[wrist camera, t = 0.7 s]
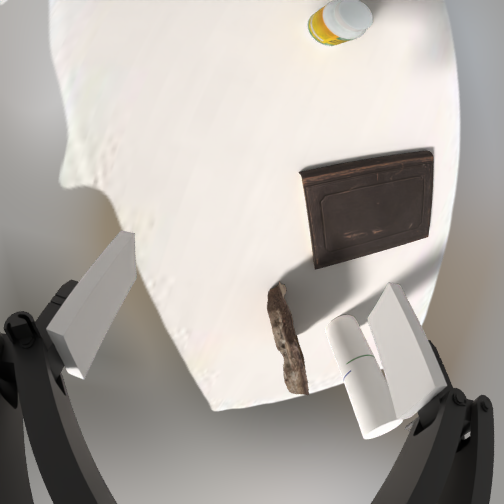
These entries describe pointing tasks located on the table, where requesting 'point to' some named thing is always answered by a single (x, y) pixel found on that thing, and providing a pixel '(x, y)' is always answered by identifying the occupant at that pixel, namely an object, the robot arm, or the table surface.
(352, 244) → the hardcover book
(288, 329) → the mineral sample
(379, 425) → the cylindrical container
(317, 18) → the supplement bottle
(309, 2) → the table surface
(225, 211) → the table surface
